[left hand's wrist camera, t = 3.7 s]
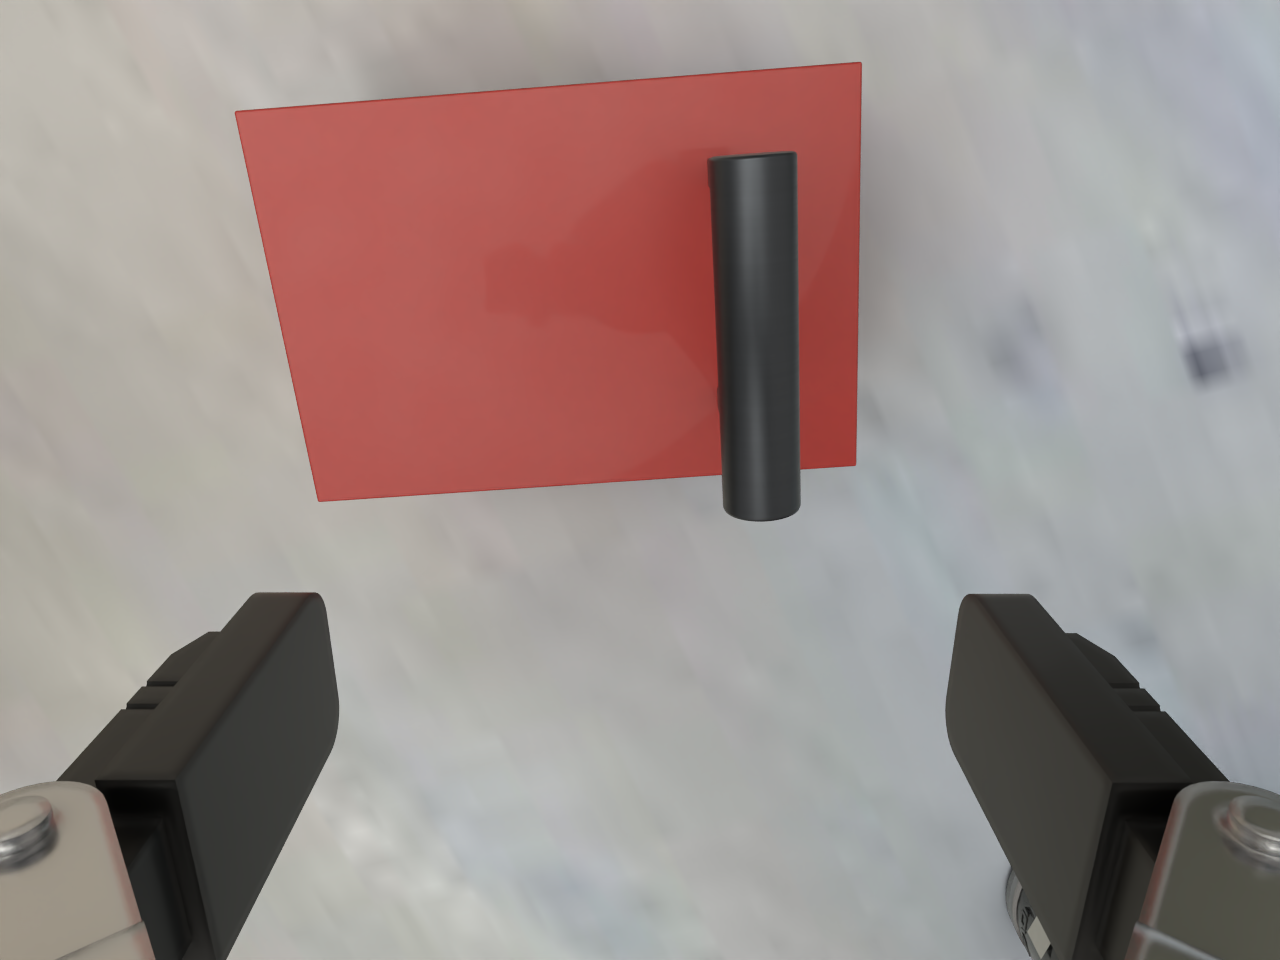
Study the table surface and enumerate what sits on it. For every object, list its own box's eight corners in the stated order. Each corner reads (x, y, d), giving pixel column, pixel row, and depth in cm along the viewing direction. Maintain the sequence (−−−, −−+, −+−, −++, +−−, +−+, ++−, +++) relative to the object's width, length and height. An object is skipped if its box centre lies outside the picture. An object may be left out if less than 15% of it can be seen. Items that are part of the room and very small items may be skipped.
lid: (854, 64, 22) (968, 23, 14) (849, 456, 25) (939, 590, 18) (247, 111, 22) (44, 96, 15) (327, 491, 26) (197, 637, 18)
